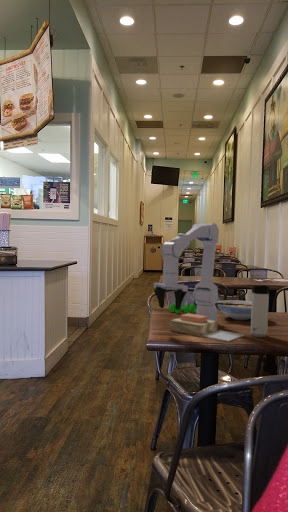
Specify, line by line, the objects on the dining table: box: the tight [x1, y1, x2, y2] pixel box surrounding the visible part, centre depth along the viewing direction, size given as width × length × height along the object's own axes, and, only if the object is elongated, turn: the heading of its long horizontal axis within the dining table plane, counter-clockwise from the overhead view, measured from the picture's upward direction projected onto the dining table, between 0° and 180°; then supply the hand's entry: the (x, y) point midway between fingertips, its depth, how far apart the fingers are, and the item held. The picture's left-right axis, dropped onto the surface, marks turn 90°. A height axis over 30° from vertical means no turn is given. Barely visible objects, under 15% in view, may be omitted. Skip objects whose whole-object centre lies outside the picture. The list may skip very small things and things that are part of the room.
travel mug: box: [250, 284, 270, 338], centre depth 157 cm, size 6×7×20 cm
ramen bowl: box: [215, 299, 271, 321], centre depth 192 cm, size 25×23×8 cm
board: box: [169, 317, 219, 337], centre depth 163 cm, size 14×14×4 cm
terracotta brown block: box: [180, 312, 208, 323], centre depth 162 cm, size 6×9×2 cm, turn 52°
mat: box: [201, 329, 246, 343], centre depth 154 cm, size 14×11×1 cm
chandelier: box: [168, 298, 197, 315], centre depth 206 cm, size 15×15×7 cm
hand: (169, 308), depth 155 cm, fingers open, 7 cm apart
